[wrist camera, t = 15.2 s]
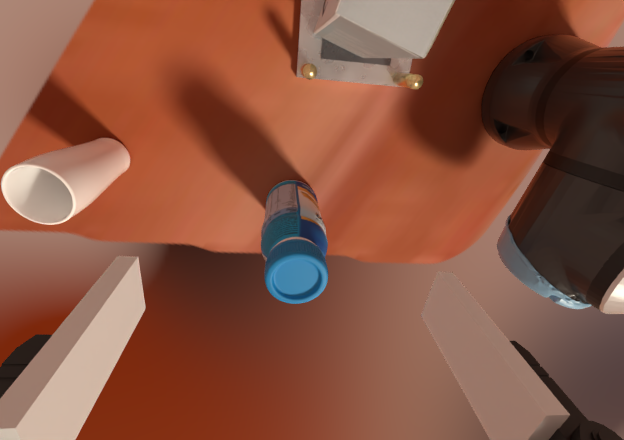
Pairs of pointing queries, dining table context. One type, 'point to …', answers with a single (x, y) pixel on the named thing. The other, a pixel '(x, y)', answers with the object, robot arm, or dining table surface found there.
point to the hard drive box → (383, 26)
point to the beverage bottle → (294, 243)
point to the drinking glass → (63, 180)
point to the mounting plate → (345, 58)
